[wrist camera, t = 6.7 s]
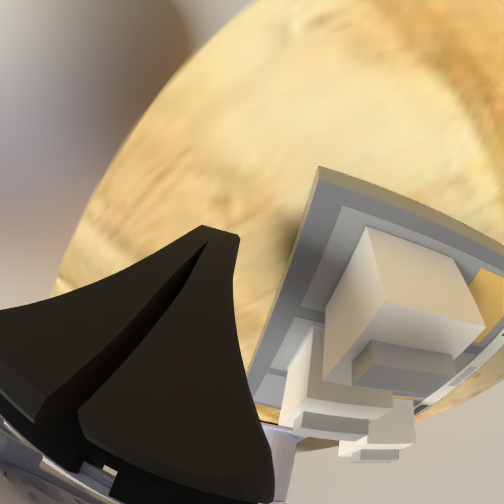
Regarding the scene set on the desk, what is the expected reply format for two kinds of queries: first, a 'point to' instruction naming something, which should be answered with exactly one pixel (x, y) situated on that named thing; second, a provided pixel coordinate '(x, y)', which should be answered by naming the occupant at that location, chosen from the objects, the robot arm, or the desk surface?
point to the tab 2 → (398, 318)
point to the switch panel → (336, 260)
